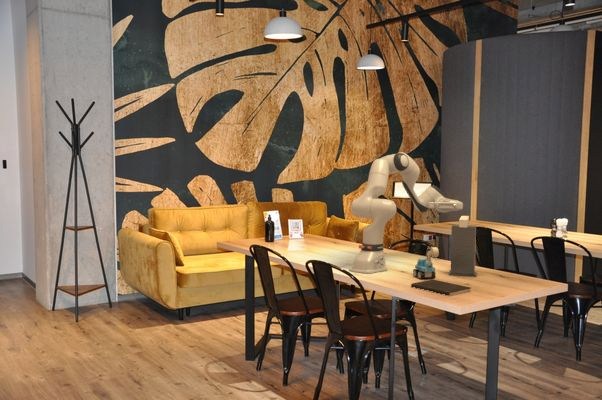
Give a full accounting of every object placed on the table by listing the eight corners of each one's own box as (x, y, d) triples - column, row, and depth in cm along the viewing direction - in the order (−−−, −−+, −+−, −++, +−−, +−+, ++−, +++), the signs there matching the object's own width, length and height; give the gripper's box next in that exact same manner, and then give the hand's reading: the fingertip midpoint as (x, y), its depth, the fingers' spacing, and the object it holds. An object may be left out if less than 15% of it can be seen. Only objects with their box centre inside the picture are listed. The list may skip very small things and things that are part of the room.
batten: (467, 227, 312) (467, 219, 312) (459, 227, 313) (459, 219, 313) (468, 223, 331) (469, 216, 331) (461, 223, 332) (461, 215, 332)
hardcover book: (432, 284, 301) (432, 279, 300) (471, 292, 282) (471, 287, 282) (410, 288, 291) (410, 283, 291) (449, 297, 273) (449, 292, 272)
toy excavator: (427, 282, 301) (427, 248, 300) (411, 276, 317) (412, 243, 316) (442, 281, 304) (443, 247, 302) (426, 275, 320) (427, 242, 318)
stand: (476, 277, 315) (477, 227, 313) (448, 275, 319) (449, 226, 317) (476, 273, 324) (478, 225, 322) (449, 271, 329) (450, 224, 327)
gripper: (426, 199, 365) (428, 199, 351) (460, 200, 363) (464, 200, 349) (425, 210, 365) (428, 210, 351) (460, 210, 363) (464, 211, 349)
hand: (446, 205), depth 350 cm, fingers open, 8 cm apart
